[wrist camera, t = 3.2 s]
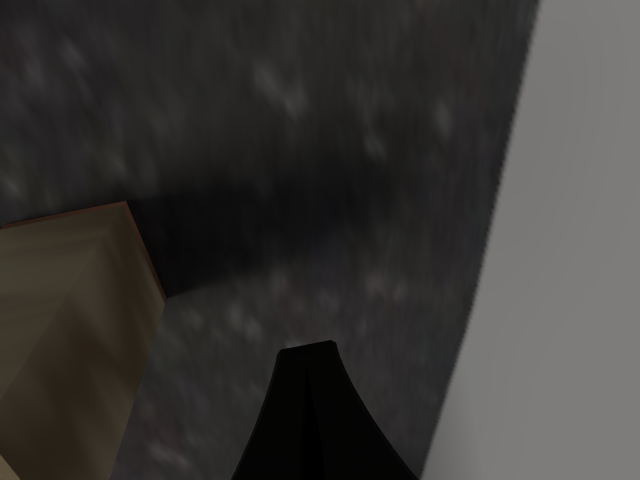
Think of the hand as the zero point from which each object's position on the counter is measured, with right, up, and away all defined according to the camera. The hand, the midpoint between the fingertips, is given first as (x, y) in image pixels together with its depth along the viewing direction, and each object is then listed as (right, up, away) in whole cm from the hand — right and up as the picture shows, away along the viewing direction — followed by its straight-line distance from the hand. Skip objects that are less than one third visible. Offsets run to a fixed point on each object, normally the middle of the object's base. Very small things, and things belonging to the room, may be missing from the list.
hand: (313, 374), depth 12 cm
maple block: (-9, +2, +7) cm, 11 cm away
